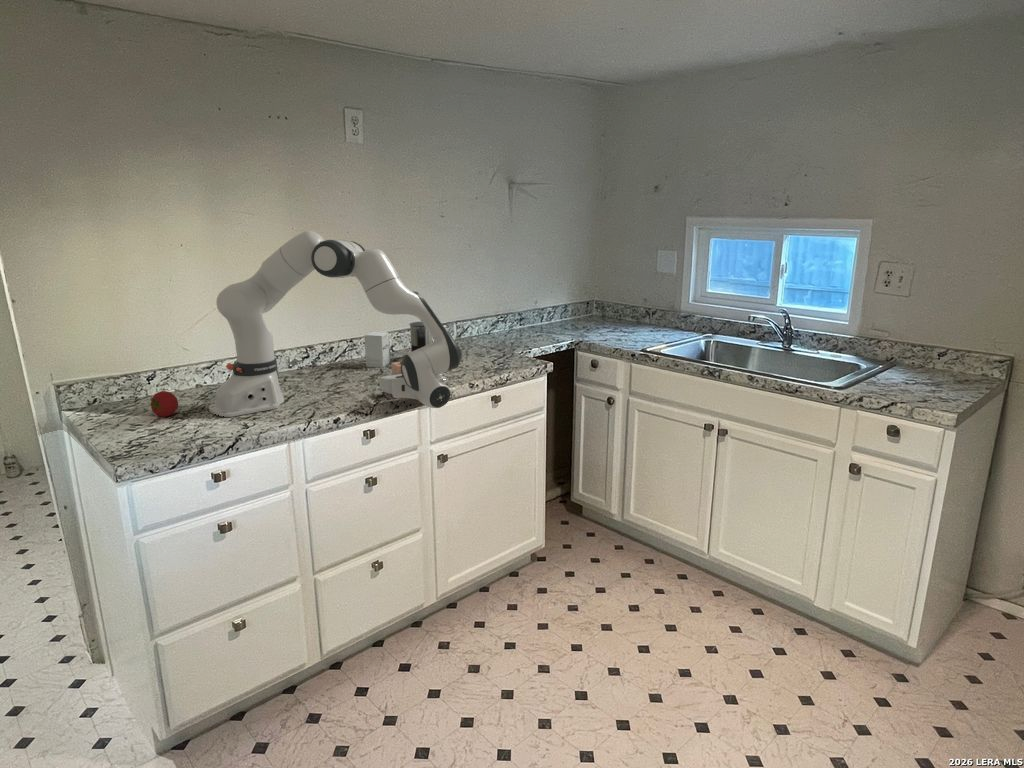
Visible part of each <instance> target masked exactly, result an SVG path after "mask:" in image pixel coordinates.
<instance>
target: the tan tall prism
mask: <svg viewBox="0 0 1024 768" xmlns="http://www.w3.org/2000/svg"><path fill="white" fill-rule="evenodd" d="M402 360H403V359H400V360H399V361H395V362H391V374H392V375H398V374H402V372H401V363H402ZM398 399H399V400H402V399H403V400H404V399H405V398H398Z"/></svg>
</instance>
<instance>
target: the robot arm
mask: <svg viewBox="0 0 1024 768" xmlns="http://www.w3.org/2000/svg"><path fill="white" fill-rule="evenodd" d="M315 270H316V271H317V273H319V274H320V275H322V276H324V277H326V278H336V279H337V278H338V279H344V278H351V277H355V278H356V279H357V280H358V281H359V283H360V285H361V286H362V289H363V292H364V293H365V295H366V298H367V299H368V301H369V303H370V304H371V306H372V307H373V308H374V309H375V310H376V311H378V312H380V313H382V314H386V315H393V316H394V315H410V316H413V317H416V318H417V319H419V320H420V322H422V323H423V325H424V326H425V327H426V329H427V330H428V332H429V333H430V335H431V336H432V340H433V341H432V343H430V344H428V345H426V346H424V347H422V348H419V349H417V350H414V351H412V352H411V351H410V352H408V353H406V354H405V355H403V358H402V359H401V360H402V363H401V372H402V374H398V375H392V373H390V374H387V375H384V376H383V375H382V376H380V377H379V382H378V383H379V388H380V390H382V391H383V392H385V393H387V394H388V395H392V397H393V398H394V399H399V398H404V399H411V400H417V401H419V402H420V403H421V404H423V405H424V406H426V407H428V408H432V409H441V408H442V407H444V406H446V405H447V404H448V402H449V401H450V399H451V395H452V394H451V389H450V387H449V386H448V385H447V384H446V383H445V382H446V381H447V380H448V377H446V376H444V375H443V373H447V372H450V371H452V370H454V369H457V368H459V365H460V363H461V361H462V358H463V352H462V349H461V348H460V346H459V344H458V343H457V341H456V340H455V339H454V337H452V336H451V335H450V333H449V332H448V331H447V329H446V328H445V326H444V325H443V323H442V322H441V320H440V319H439V317H437V315H436V313H435V312H434V311H433V309H432V308H431V307H430V305H429V304H428V302H427V301H426V299H425V298H424V297H423V296H422V295H421V294H420V293H419V292H418V291H414V290H411V289H409V288H408V287H407V286H406V284H404V282H403V281H402V280H401V278H400V275H399V273H398V271H397V270H396V268H395V266H394V265H393V263H392V261H391V260H390V259H389V257H388V256H387V254H386V253H385V252H384V251H383V250H381V249H379V248H368V249H366V248H364V246H362V244H360V243H358V242H356V241H351V240H346V239H326V240H325V239H324V238H323V236H322V235H321V234H319V233H318V232H316V231H314V230H305V231H302V232H300V233H299V234H296V235H295V236H293V237H291V238H290V239H289V240H288V241H286V242H285V243H284V244H283V245H281V246H280V247H279V248H278V249H277V250H275V251H274V252H273V253H272V254H271V255H269V257H267V258H266V259H265V260H264V261H263V262H262V263H261V266H260V267H259V269H258V270H257V271H256V272H255V273H254V274H253V275H252V276H250V277H249V278H248V279H245V280H243V281H240V282H236V283H232V284H229V285H228V286H226V287H225V288H223V289H222V290H221V291H220V292H219V293H218V295H217V297H216V307H217V310H218V312H219V313H220V314H221V316H222V317H224V318H225V320H227V322H228V324H229V327H230V329H231V333H232V335H233V339H234V344H235V345H234V346H235V350H236V351H235V352H236V359H237V360H236V362H235V363H234V364H233V363H230V362H228V363H227V364H226V366H225V368H226V369H227V370H229V371H232V375H230V377H228V378H227V380H225V381H224V382H223V384H221V385H220V386H219V387H218V388H217V389H216V393H215V403H213V404H210V405H209V406H208V411H209V412H210V413H211V414H213V415H215V414H216V415H215V416H218V415H219V416H220V417H223V416H224V417H225V418H226V417H227V418H231V417H232V418H233V417H237V416H242V415H243V416H244V415H248V414H252V413H259V412H264V411H269V410H275V409H278V408H279V407H280V405H281V404H283V403H284V402H285V397H284V395H283V393H282V390H281V389H282V388H281V386H280V382H279V379H278V378H279V377H278V372H279V371H278V362H277V358H276V357H275V348H274V337H273V334H272V332H271V331H270V330H269V329H268V327H267V325H266V324H265V321H264V317H263V314H265V313H268V312H269V311H271V310H272V309H274V307H275V306H277V304H278V303H279V302H280V301H281V300H283V298H284V297H285V296H286V294H287V293H289V292H290V291H291V290H292V289H293V288H294V287H295V286H296V285H298V284H300V282H301V281H302V280H304V279H305V278H306V277H308V276H309V275H310V274H311V273H312V272H314V271H315Z"/></svg>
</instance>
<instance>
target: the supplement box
mask: <svg viewBox="0 0 1024 768" xmlns="http://www.w3.org/2000/svg"><path fill="white" fill-rule="evenodd" d="M363 337H364V339H363V340H364V352H365V353H364V355H365V357H364V358H365V367H368V368H384V367H387V366H388V365H389V364H390V363H391V359H390V340H389V338H390V337H389V332H387V331H384V332H383V331H370V332H369V333H367V334H364V336H363Z"/></svg>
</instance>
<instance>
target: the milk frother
mask: <svg viewBox="0 0 1024 768" xmlns="http://www.w3.org/2000/svg"><path fill="white" fill-rule="evenodd" d="M409 327H410V330H409V331H410V350H411V351H410V352H412V351H414V350H417V349H419V348H422V347H424V346H426V345H428V344H430V343H432V342H433V338H432V336H431V335H430V333H429V332H428V330H427V329H426V327H425V326H424V325H423V323H422V322H421V321H415V322H414V321H413V322H409Z"/></svg>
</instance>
